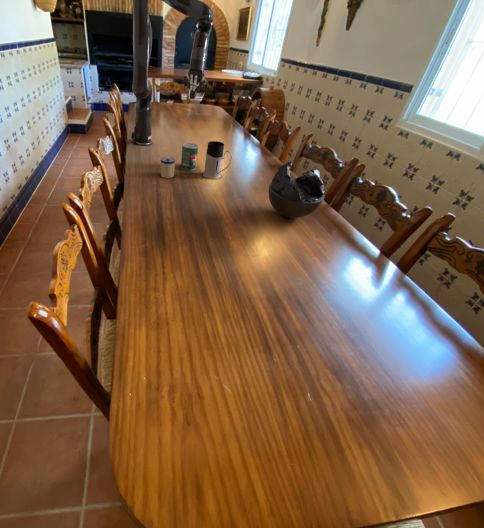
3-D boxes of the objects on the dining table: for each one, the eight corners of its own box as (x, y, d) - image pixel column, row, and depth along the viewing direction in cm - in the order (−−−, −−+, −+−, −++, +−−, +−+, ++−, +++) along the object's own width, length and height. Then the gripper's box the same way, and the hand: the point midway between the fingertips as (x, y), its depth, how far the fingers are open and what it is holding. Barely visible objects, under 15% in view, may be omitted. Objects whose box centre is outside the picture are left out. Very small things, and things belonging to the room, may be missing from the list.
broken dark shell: (324, 228, 110) (345, 179, 98) (272, 227, 108) (287, 178, 97) (302, 203, 126) (318, 158, 114) (256, 202, 124) (267, 157, 112)
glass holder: (210, 170, 149) (214, 139, 140) (233, 179, 141) (239, 147, 132) (199, 174, 144) (202, 142, 135) (222, 184, 136) (227, 151, 127)
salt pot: (158, 177, 139) (159, 157, 134) (162, 171, 144) (162, 152, 139) (173, 178, 138) (174, 159, 133) (175, 173, 144) (176, 154, 138)
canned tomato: (181, 164, 154) (182, 142, 147) (196, 165, 154) (198, 143, 147) (180, 170, 148) (181, 147, 141) (196, 171, 147) (198, 148, 140)
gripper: (182, 56, 143) (177, 96, 152) (207, 60, 138) (200, 101, 148) (190, 57, 148) (184, 96, 158) (213, 61, 144) (206, 101, 153)
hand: (192, 99), depth 153 cm, fingers closed
